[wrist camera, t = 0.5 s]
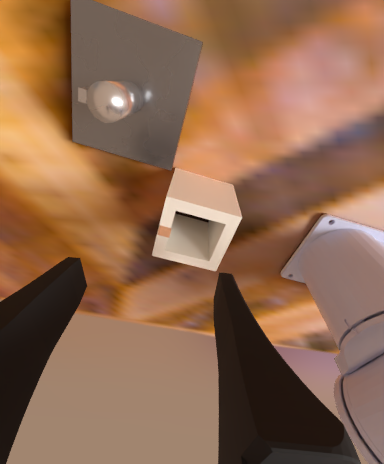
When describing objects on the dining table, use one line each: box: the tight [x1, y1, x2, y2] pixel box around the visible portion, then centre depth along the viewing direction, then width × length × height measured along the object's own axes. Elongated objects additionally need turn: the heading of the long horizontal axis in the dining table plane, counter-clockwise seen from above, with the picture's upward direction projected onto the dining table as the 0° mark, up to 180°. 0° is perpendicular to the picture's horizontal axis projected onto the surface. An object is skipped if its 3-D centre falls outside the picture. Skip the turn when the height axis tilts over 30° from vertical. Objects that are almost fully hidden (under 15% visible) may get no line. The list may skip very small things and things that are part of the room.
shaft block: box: [71, 0, 203, 171], centre depth 13 cm, size 8×8×6 cm
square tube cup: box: [152, 168, 242, 271], centre depth 18 cm, size 5×5×6 cm
